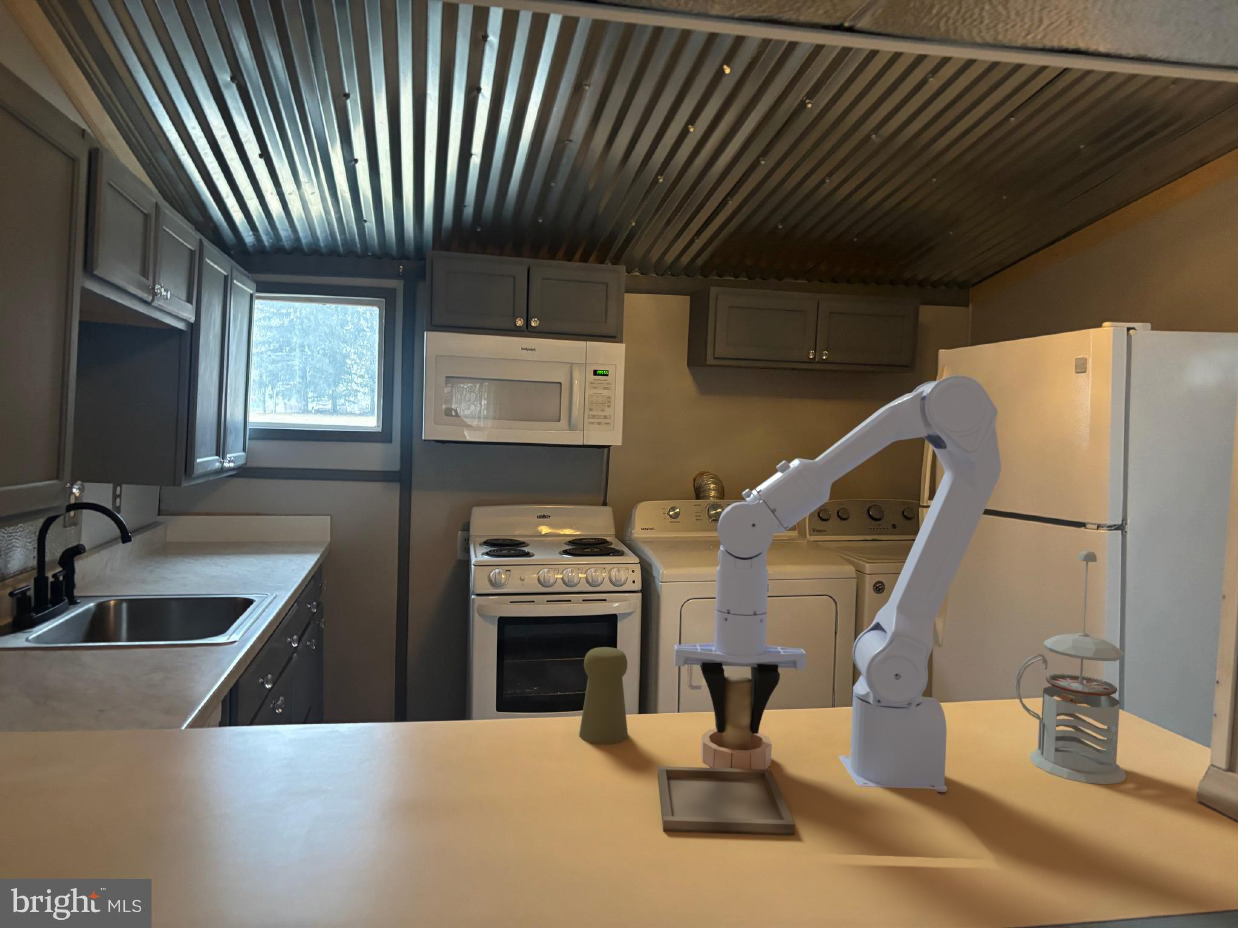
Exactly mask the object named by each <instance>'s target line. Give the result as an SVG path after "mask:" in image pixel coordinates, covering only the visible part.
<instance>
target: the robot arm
mask: <svg viewBox="0 0 1238 928" xmlns="http://www.w3.org/2000/svg"><path fill="white" fill-rule="evenodd" d="M997 417H998V409H997V407H996V405H995V404H994V402H993V401H992V399H991V397H990V395H989V394H988V393H987V391H986V390H985V388H984V386H983V385H982V384H981V383H979V381H977V380H976V379H974V378H972V377H969V376H966V375H959V374H957V375H955V374H953V375H949V376H945V377H943V378H941V379H939V380H931V381H927V382H924V383H922V384H920V385H918V386H917V387H916V388H915V389H914V390H913V391H912V392H910V393H905V394H904V395H901V396H900V397H897V398H896V399H894V400H893V401H891V402H889V403H887V404H886V405H884V406H883V407H881V408H879V409H878V410H877V411H875V412H874V413H873V414H871V416H868V418H867V419H865V420H864V421H862V422H861V423H860V424H859V425H858V426H856V427H855V428H853V429H852V430H851V431H850V432H848V433H847V434H846V435H845V436H843V437H842V438H841V439H840V440H838V441H837V442H835V443H834V444H833V445H832V446H831V447H829V448H828V449H826V451H824V452H822V454H820V455H819V456H818V457H816V458H814V459H813V460H812V459H805V458H800V457H799V458H795V459H793V460H792V461H790V463H789V462H788V461H787V460H783V461H781V462H780V463H779V464H778V465H776V466H775V467H776V469H777V472H775V473H774V474H773V475H772V476H770V477H768V479H766V480H765V481H764V482H762V483H761V484H760V485H758V486H757V487H755V488H753V490H750V488H747V489H745V490H744V491H743V492H742V493H741V496H742V497H743V498H744V499H745V501H740V502H739V501H738V502H733V503H731V504H730V505H728V506H727V507H725V509H724V510H723V511H722V513H721V514H720V517H719V519H718V523H717V525H716V529H717V530H716V531H717V534H718V535H717V536H718V539H719V541H720V545H719V547H720V548H719V550H718V553H717V561H718V563H719V564H718V566H717V567H716V577H715V578H716V579H715V582H716V584H715V608H714V609H715V612H714V613H715V615H714V636H713V637H714V640H713V641H714V642H709V643H695V644H694V643H693V644H674V646H673V647H674V648H673V663H674V666H675V667H685V666H687V665H688V666H699V667H700V670H701V674H702V676H703V679H704V681H705V684H706V686H707V688H708V691H709V695H710V699H711V703H712V706H713V711H714V719H715V720H714V721H715V729H717V732H718V733H724V695H725V684H726V677H727V676H726V675H725V669H724V667H743V668H744V667H746V668H747V667H749V668H750V679H752V680H753V694H752V721H751V732H752V734H758V732H759V733H760V726H761V721H762V718H763V715H764V712H765V709H766V707H767V705H768V702H769V700H770V697H771V696H772V694H773V692H774V691H775V689H776V687H777V686H778V684H779V682H780V680H781V679H780V677H781V673H780V672H779V669H795V670H797V671H806V669H807V652H806V651H805V650H804V649H803V648H794V647H784V646H776V645H768V644H767V620H768V619H767V617H768V594H769V592H768V591H769V589H768V588H769V570H768V569H767V555H768V550H769V548H770V546H771V545H772V542H773V538H774V534H783V533H785V532H786V531H788V530H789V529H790V528H792V527H794V526H795V525H797V523H799V522H800V521H801V520H803V519H804V518H806V517H807V516H808V515H810V514H812V513H813V512H814V511H815V510H817V509H818V508H820V507H821V506H823V505H824V504H825V503H827V502H828V501H829V500H830V494H831V488H832V484H833V483H834V482H835V481H837V480H839V479H840V478H841V477H843V476H844V475H846V474H847V473H849V472H850V471H852V470H853V469H854V468H856V467H858V466H859V465H861V464H862V463H864V462H865V461H866V460H869V459H870V458H871V457H872V456H874V455H875V454H878V452H880V451H882V450H883V449H884V448H886V447H888V446H889V445H891V443H894V442H896V441H901V440H903V441H905V440H909V439H910V440H911V439H916V438H917V439H919V438H923V439H924V440H925V441H926V442H927V443H929V444H930V446H931V447H932V450H933V451H934V453H935V455H936V457H937V459H938V461H939V462H940V465H941V467H942V468H943V470H944V474H943V477H942V479H941V481H940V483H939V486H938V489H937V490H936V492H935V495H934V497H933V499H932V502H931V504H930V506H929V509H928V511H927V513H926V515H925V517H924V520H923V522H922V525H921V527H920V528H919V531H918V534H917V535H916V537H915V541H914V542H913V544H912V546H911V549H910V552H909V553H908V556H907V558H906V561H905V562H904V565H903V567H902V569H901V572H900V574H899V576H898V579H897V581H896V583H895V585H894V588H893V590H892V593H891V594H890V596H889V598H888V601H887V603H885V605H883V606H882V607H881V608H880V610H878V612H877V613H876V615H875V617H874V620H873V621H872V623H871V625H869V627H867V628H866V629H865V630H863V631H862V632H861V633H860V634H859V635H858V636H857V638H856V640H855V641H854V643H853V647H852V659H853V663H854V665H855V666H856V668H857V670H858V671H859V672H860V673H861V674H860V676H859V678H858V680H857V681H856V683H855V684H854V685H853V687H852V703H851V707H852V708H851V709H852V710H851V729H850V730H851V732H850V733H851V735H850V737H851V738H850V755H839V756H838V759H839V760H840V762H841V763H842V764H843V766H844V768H845V769H846V770H847V772H848V774H849V775H850V777H851V778H852V779H853V780H854V782H855V784H856V785H857V786H859V787H872V788H873V787H875V788H899V789H900V788H902V789H903V788H904V789H907V788H908V789H931V790H932V789H933V790H935V791H936V792H937V793H945V792H947V791H948V786H946V785H945V778H946V775H945V774H946V757H947V756H946V753H947V734H948V733H947V721H946V715H945V711H944V708H943V707H942V705H941V703H940V702H939V700H938V699H937V698H934V697H930V696H923V693H924V692H925V690H926V688H927V685H928V680H929V679H928V678H929V672H928V662H929V658H930V655H931V653H932V650H933V648H934V623H935V621H936V620H937V619H936V618H937V617H938V615H939V612H940V610H941V608H942V605H943V604H944V601H945V599H946V596H947V595H948V592H949V591H950V588H951V585H952V582H953V581H954V578H955V576H956V574H957V571H958V570H959V568H960V565H961V563H962V561H963V558H964V557H965V554H966V552H967V550H968V548H969V545H970V544H971V541H972V539H973V536H974V534H975V532H976V529H977V527H978V525H979V523H980V521H981V518H982V516H983V514H984V511H985V509H986V508H987V505H988V502H989V501H990V498H991V496H992V494H993V491H994V489H995V487H996V485H997V482H998V480H999V478H1000V475H1001V471H1002V463H1001V458H1000V457H1001V456H1000V455H1001V454H1000V450H999V449H1000V448H999V441H998V434H997V427H996V423H997ZM766 644H767V645H766Z"/></svg>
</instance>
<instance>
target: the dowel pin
mask: <svg viewBox="0 0 1238 928" xmlns="http://www.w3.org/2000/svg"><path fill="white" fill-rule="evenodd" d="M725 677H726V684H725V695H724V733H722V748H727V749H731V750H750V748H751V721H752V694H753V680H752V679H751V677H748V676H744V675H728V676H725Z"/></svg>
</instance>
